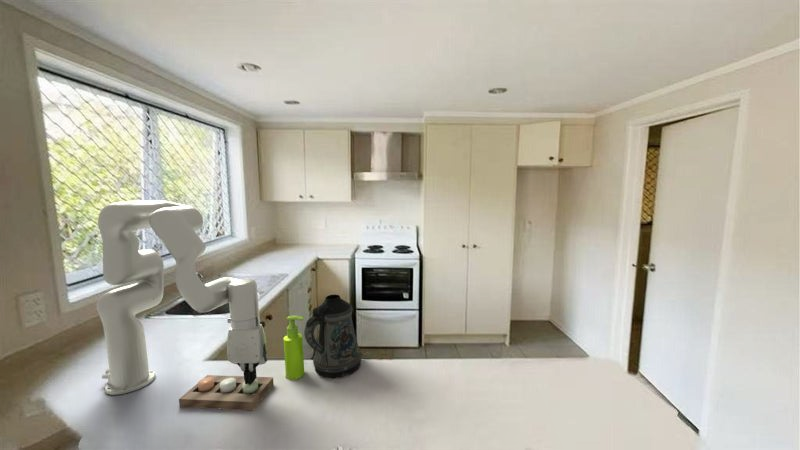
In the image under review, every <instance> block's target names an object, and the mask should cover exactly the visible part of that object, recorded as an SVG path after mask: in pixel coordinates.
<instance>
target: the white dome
mask: <svg viewBox="0 0 800 450" xmlns="http://www.w3.org/2000/svg"><path fill="white" fill-rule="evenodd" d="M235 389H236V379H235V378H228V379H225V380H223V381H222V382H221V383H220V391H221V393H232V392H233V391H234V390H235Z"/></svg>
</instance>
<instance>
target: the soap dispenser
mask: <svg viewBox="0 0 800 450" xmlns="http://www.w3.org/2000/svg"><path fill="white" fill-rule="evenodd" d="M304 319H305V317H304V316H301V315H288V316H287V317H286V320H287V321H288V322H289V323H288V324H289V325H287V327H286V333H287V334H286V335H285V336H284V337H283V351H284V353H283V354H284V365H285V366H284V367H285V369H284V371H285V378H286V379H287V378H288V380H297V379H300V378H302V377H303V376H304V375H305V359H304V342H303V334H302V333H300V332H299V326H298V325H297V324H296V322H295V321H300V322H301V321H302V320H304Z"/></svg>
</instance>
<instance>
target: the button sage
mask: <svg viewBox="0 0 800 450" xmlns="http://www.w3.org/2000/svg"><path fill="white" fill-rule="evenodd" d="M242 387H243V394H255V393H256V392H257V390H258V380H257V379H255V380H254V382H253V383H252V384H245V382H243V384H242Z"/></svg>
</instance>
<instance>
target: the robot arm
mask: <svg viewBox="0 0 800 450" xmlns="http://www.w3.org/2000/svg"><path fill="white" fill-rule="evenodd" d="M203 225H204V219H203V215H202V213H201V212H200V211H199V210H198V209H197V208H195V207H193V206H191V205H186V204H181V203H179V202H178V203H176V202H172V201H167V200H162V199H161V200H160V199H159V200H158V199H156V200H155V199H153V200H151V199H150V200H128V201H118V202H113V203H109V204H108V205H105V206H103V208H102V209H101V210H100V212H99V214H98V218H97V226H98V229H99V232H100V233H99V234H100V236H101V241H102V276H103V279H104V281H105V282H106V283H107V284H109V285H111V286H121V287H117V288H114V289H112V290H108V291H106V292H105V293H103V294H102V295H100V296H99V298H98V299H97V301H96V311H97V313H98V316H99V318H100V321H101V323H102V328H103V333H104V338H105V339H104V340H105V345H106V354H107V360H108V368H107V369H106V370H105V372H104V374H102V375H101V379H104V380H106V379H107V381H108V382H107V384H106V385H105V387H104V392H105V394H107V395H111V396H112V395H113V396H118V395H124V394H129V393H132V392H134V391H137V390H140V389H142V388H144V387H146V386H147V385H149V384H150V383H152V382H153V381H154V380H155V378H156V371H155V370H152V369H149V367H150V366H149V359H148V350H147V340H146V334H145V333H146V332H145V327H144V324H143V323H142V321H141V320H140V319H139V318H137V317H136V315H137V314H139V313H142V312H144V311H146V310H149V309H151V308H154V307H156V306H157V305H159V304H160V303H161V302H162V300H163V297H164V290H165V289H164V284H165V283H164V281H165V279H164V278H165V276H164V275H165V269H164V262H163V258H162V256H161V255H160V253H158V252H157V251H155V250H154V249H150V248H149V249H147V248H145V249H140V246H139V245H140V242H139V241H140V240H139V237H138V236H137V235H136V233H135V231H133V230H141V229H150V228H151V229H152V230H153V233H155V235H156V236H157V237H158V239H159V240H160V242H161V243H162V244H163V246H164V247H165V249H167V251H168V252H169V254H170V255H171V257H172V258H173V259H174V260H175V268H174V279H175V285H176V288H177V290H178V292H179V294H180V295H181V296H182V297H183V299H184V300H185V302H186V303H187V304H188V305H189V306H190V307H191V308H192V309H193V310H194V311H196V312H198V313H208V312H211V311H213V310H215V309H218V308H219V307H222V306H223V305H226V304H229V314H230V317H229V318H227V320H226V321H227V324H230V327H229V328H228V331H227V337H226V339H227V341H226V349H227V350H226V356H227V361H228V362H229V363H231V364H233V365H237V366H238V367H239V368H240V369H241V370H240V371H242V372H243V376H244V380H245V384H252V383H253V382H254V380H255V379H256V377H258V376H257V367H258V366H261V365H264V364H266V363H267V362H268V357H267V355H268V345H267V344H268V343H267V339H266V332H265V331H264V327H263V324H262V323H260V322H261V320H260V308H259V307H260V306H259V296H258V293H259V292H258V284H257V282H256V280H254V279H251V278H242V279H240V278H236V277H232V276H231V277H230V276H223V277H220V278H218V279H214V280H212V281H209V282H207V283H203V281H202V280H201V279H200V276H199V275H198V273H197V272H196V265H195V264H196V260H197V259H199V258H200V256H202V255H203V254H204V253H205V251H206V244H205V242H204V241H203V240H202V238H201V237H200V236H199V235H198V233H197V231H199V230H200V229H202V227H203ZM135 282H136V283H135ZM127 284H128V285H127ZM122 285H124V286H122Z"/></svg>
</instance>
